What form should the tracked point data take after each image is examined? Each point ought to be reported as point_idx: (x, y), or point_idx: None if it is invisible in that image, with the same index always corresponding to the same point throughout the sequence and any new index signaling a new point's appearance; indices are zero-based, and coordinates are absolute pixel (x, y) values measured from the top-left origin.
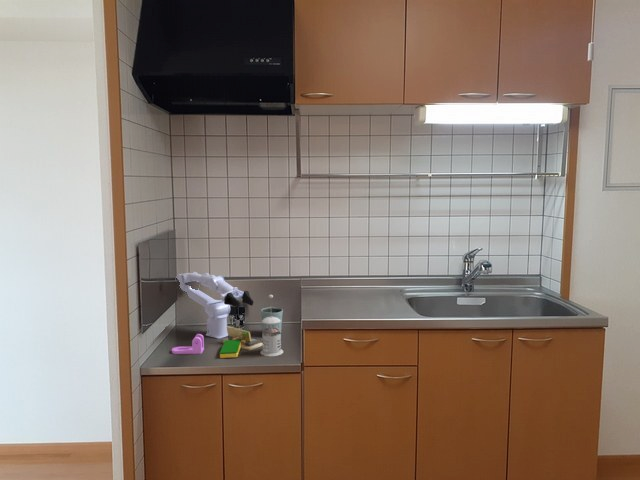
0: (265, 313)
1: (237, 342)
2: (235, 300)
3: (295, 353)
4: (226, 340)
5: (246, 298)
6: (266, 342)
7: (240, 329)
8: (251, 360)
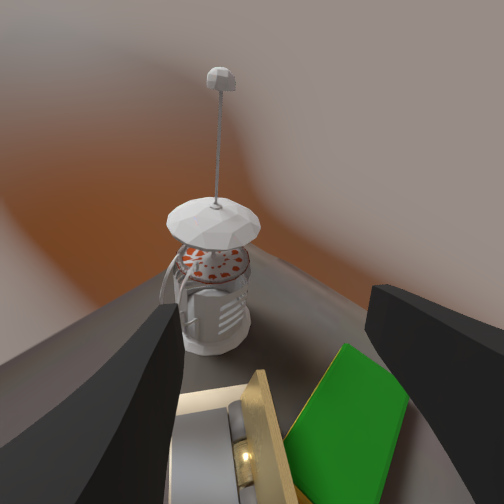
0: None
1: (309, 430)
2: (443, 313)
3: (171, 268)
4: None
5: (144, 455)
6: (207, 328)
7: (279, 460)
8: (303, 310)
